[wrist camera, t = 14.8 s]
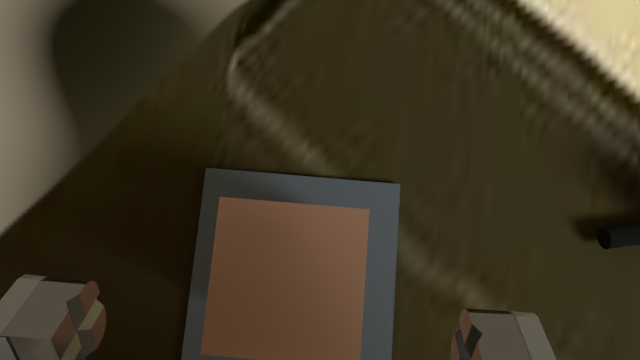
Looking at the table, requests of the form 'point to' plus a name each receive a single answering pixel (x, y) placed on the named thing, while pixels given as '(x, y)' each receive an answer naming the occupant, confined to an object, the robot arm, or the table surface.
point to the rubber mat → (314, 192)
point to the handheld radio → (619, 235)
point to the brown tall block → (286, 281)
